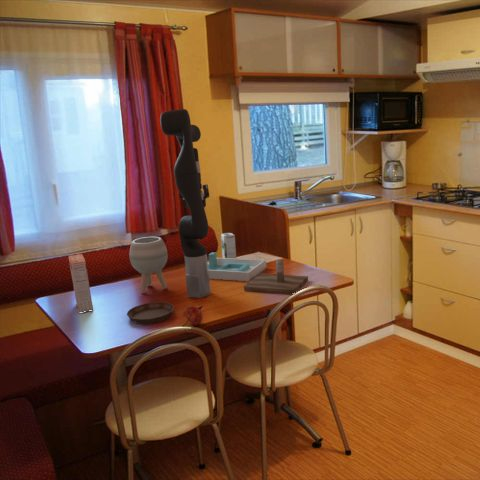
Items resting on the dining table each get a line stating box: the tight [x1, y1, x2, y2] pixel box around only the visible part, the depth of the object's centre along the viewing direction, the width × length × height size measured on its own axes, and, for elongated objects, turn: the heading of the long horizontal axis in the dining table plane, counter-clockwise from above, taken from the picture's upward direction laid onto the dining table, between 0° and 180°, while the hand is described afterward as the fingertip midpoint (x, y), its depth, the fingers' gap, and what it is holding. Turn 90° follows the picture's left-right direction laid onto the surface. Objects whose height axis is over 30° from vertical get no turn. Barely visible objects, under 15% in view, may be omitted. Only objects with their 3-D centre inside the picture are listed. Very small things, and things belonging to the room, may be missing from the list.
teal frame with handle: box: [208, 251, 250, 272], centre depth 252 cm, size 12×17×8 cm
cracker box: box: [68, 253, 94, 313], centre depth 219 cm, size 14×6×21 cm, turn 21°
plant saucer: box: [126, 301, 175, 325], centre depth 205 cm, size 18×18×3 cm
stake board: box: [243, 259, 309, 295], centre depth 228 cm, size 18×22×11 cm
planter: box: [128, 236, 168, 295], centre depth 235 cm, size 16×16×22 cm
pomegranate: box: [182, 305, 204, 327], centre depth 194 cm, size 7×7×10 cm
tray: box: [208, 257, 267, 282], centre depth 252 cm, size 20×26×4 cm
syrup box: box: [220, 232, 237, 259], centre depth 269 cm, size 6×6×14 cm
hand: (195, 207), depth 245 cm, fingers open, 8 cm apart
